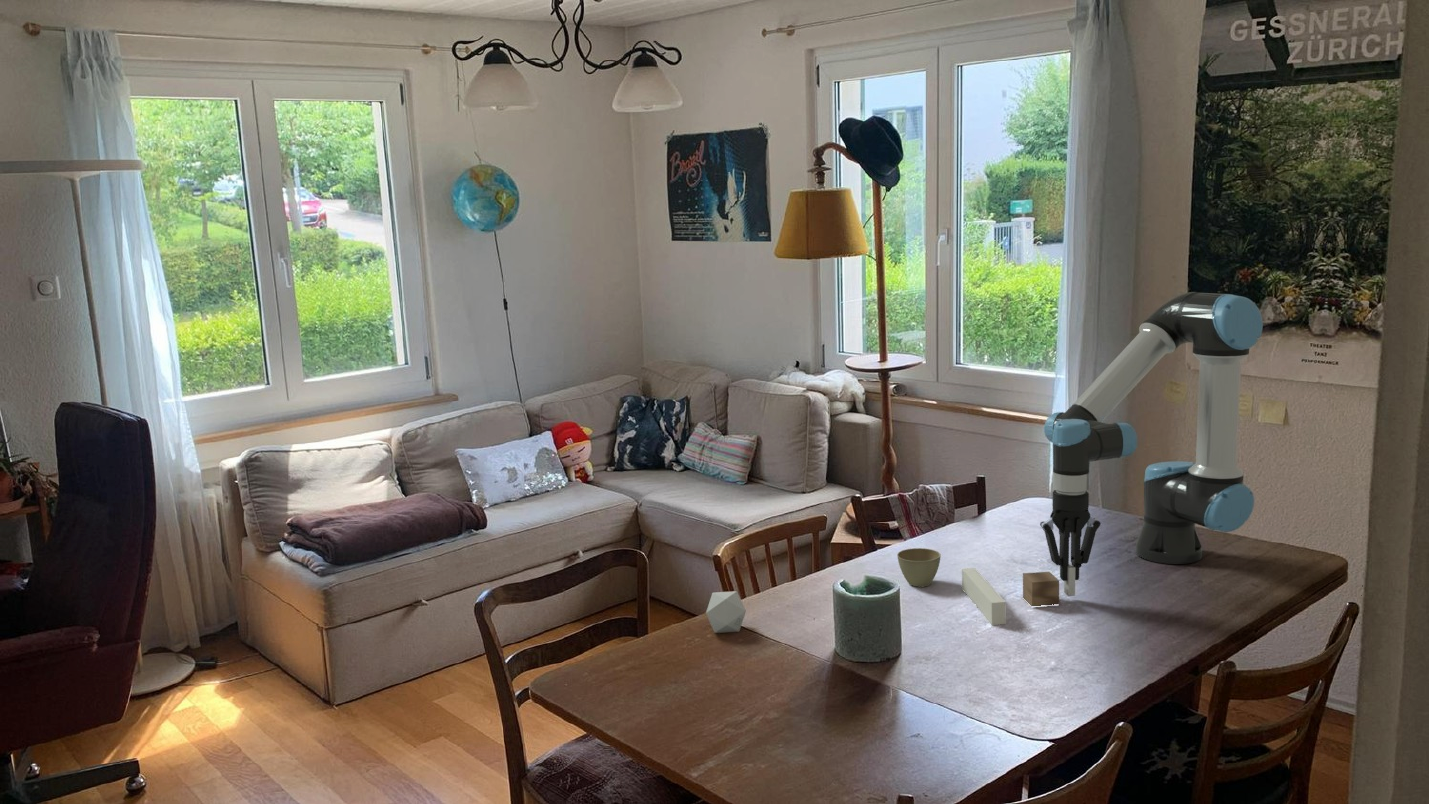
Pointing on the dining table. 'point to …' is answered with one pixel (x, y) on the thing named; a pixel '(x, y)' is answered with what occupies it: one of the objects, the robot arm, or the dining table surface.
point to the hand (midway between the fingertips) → (1069, 593)
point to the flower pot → (919, 565)
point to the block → (1040, 588)
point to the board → (984, 596)
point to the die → (725, 612)
